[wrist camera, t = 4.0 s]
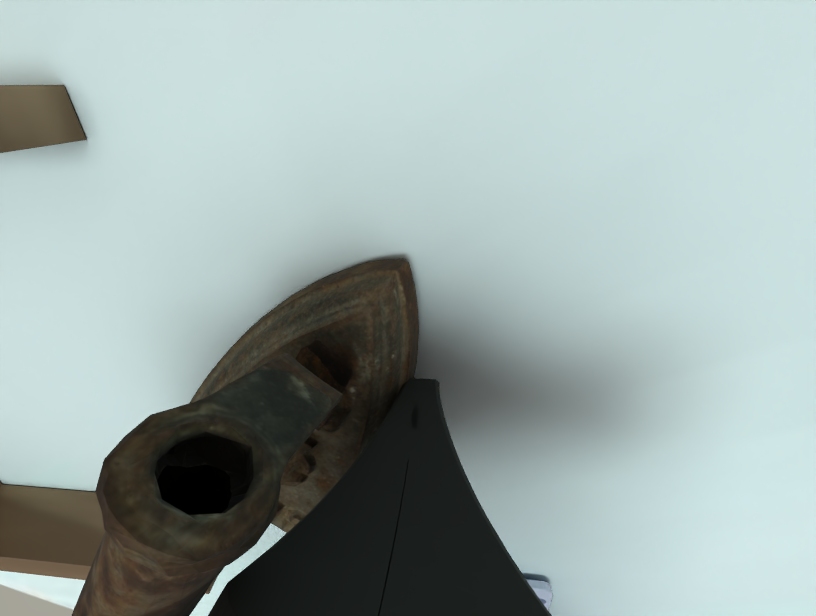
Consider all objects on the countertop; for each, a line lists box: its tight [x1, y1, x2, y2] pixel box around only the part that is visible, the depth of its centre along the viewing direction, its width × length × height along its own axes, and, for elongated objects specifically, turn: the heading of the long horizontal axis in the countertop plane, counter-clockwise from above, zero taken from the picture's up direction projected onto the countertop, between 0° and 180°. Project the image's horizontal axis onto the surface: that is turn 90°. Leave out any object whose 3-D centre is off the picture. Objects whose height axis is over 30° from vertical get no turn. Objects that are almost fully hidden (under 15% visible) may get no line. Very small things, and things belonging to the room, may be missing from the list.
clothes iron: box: [72, 259, 419, 616], centre depth 9 cm, size 7×11×10 cm, turn 147°
